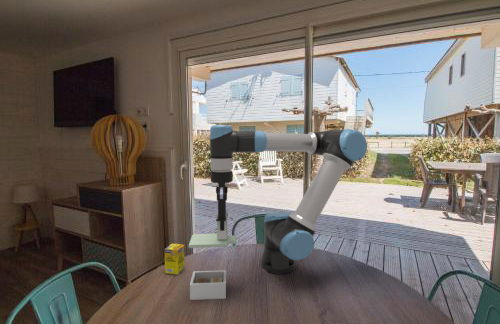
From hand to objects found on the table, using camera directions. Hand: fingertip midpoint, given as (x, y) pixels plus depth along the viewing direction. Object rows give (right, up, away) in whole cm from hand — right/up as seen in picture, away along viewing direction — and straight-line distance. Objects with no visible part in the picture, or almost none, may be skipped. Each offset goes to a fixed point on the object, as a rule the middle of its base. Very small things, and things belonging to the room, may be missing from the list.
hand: (222, 236), depth 95 cm
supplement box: (-21, -19, +16) cm, 33 cm away
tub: (-5, -20, +1) cm, 21 cm away
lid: (-3, -2, 0) cm, 3 cm away
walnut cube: (-8, -20, +1) cm, 21 cm away
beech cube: (-2, -20, +2) cm, 20 cm away
